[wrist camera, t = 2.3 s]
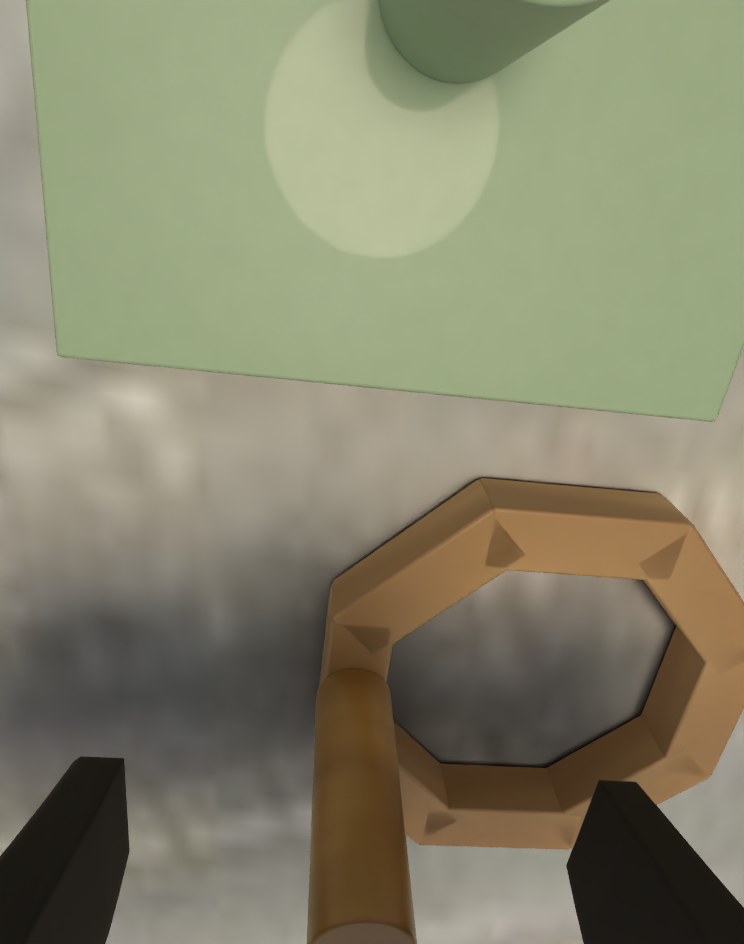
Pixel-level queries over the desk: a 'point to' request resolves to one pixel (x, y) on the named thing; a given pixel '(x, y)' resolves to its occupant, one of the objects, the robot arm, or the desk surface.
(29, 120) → the desk surface
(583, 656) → the desk surface
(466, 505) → the maple ring
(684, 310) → the peg stand
